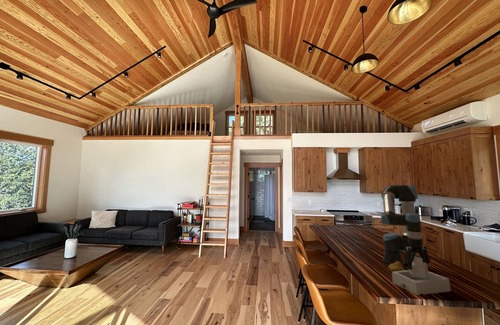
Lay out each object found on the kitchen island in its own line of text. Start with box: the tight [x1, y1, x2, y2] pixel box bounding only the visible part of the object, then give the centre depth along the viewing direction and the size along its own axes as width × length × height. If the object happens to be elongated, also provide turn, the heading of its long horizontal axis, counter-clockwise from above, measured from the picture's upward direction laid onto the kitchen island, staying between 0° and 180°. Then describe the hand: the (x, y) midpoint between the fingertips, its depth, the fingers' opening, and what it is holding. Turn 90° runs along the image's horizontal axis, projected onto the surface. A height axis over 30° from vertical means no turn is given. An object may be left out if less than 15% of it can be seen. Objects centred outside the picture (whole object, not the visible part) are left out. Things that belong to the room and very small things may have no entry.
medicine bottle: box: [412, 255, 426, 279], centre depth 136 cm, size 7×7×12 cm
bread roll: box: [388, 261, 406, 273], centre depth 156 cm, size 13×10×8 cm
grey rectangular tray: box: [391, 269, 451, 296], centre depth 135 cm, size 17×26×7 cm, turn 100°
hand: (418, 274), depth 136 cm, fingers closed on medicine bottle, 10 cm apart
